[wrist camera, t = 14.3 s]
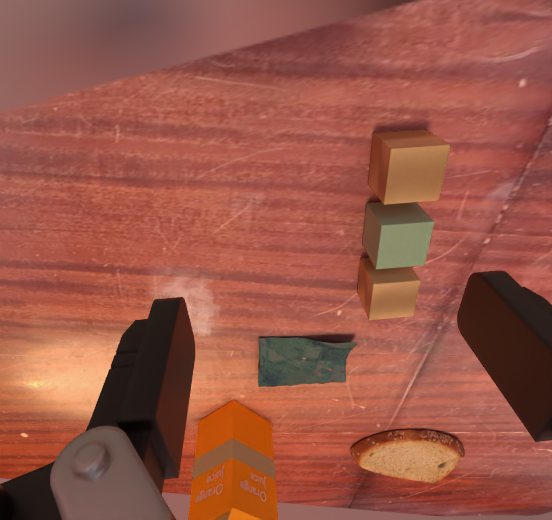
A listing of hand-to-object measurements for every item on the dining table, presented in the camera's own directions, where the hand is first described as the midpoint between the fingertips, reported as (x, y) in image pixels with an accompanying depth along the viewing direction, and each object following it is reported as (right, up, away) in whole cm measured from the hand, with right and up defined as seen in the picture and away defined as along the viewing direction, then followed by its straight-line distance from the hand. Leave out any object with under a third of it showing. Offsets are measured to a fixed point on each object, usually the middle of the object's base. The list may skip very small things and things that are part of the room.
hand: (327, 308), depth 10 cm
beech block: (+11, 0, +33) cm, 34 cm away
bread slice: (+23, -33, +56) cm, 69 cm away
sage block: (+11, +5, +29) cm, 31 cm away
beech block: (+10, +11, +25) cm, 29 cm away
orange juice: (-8, -24, +47) cm, 54 cm away
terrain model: (+2, -12, +40) cm, 42 cm away
